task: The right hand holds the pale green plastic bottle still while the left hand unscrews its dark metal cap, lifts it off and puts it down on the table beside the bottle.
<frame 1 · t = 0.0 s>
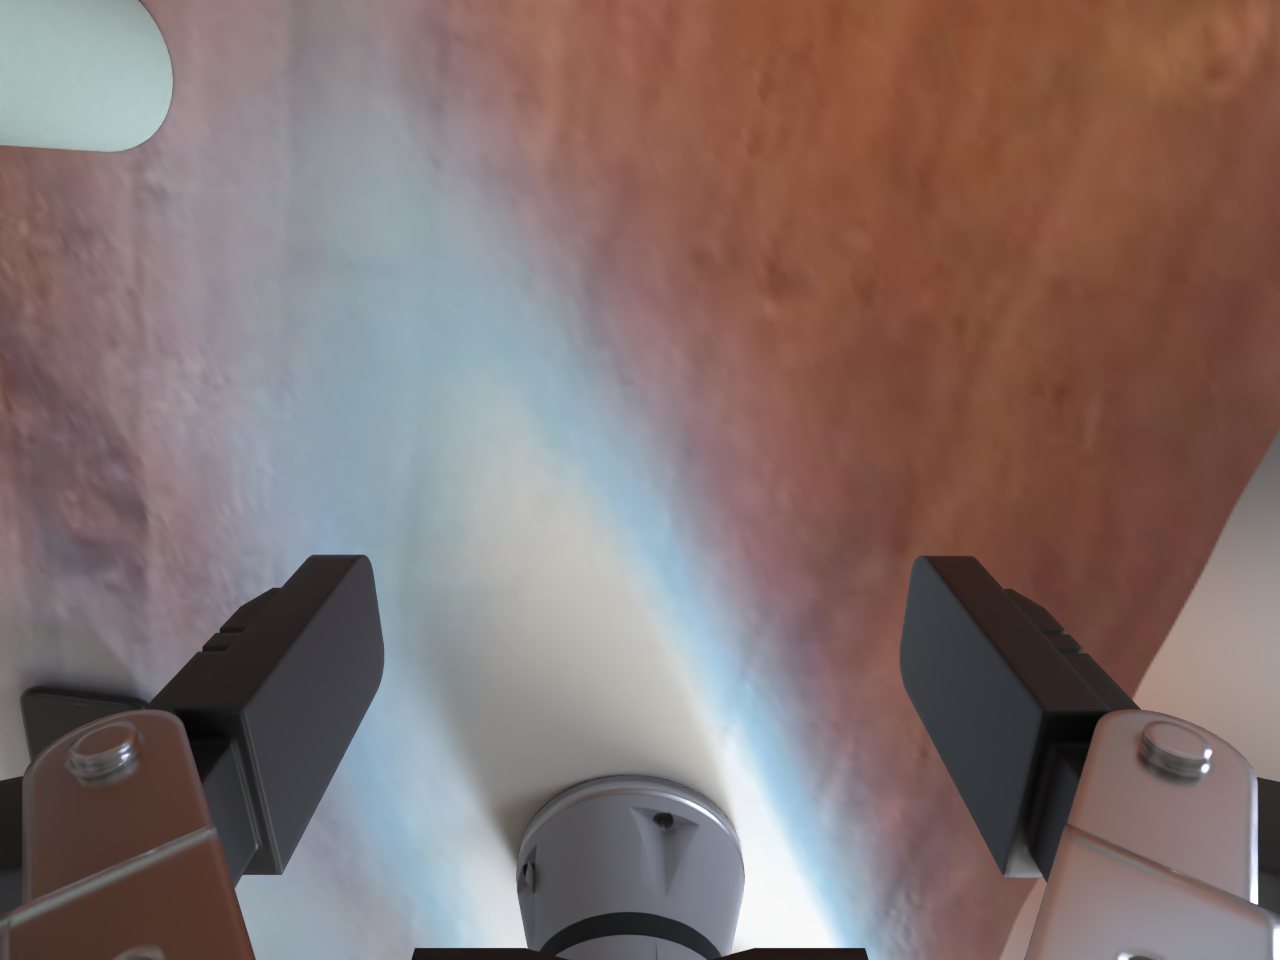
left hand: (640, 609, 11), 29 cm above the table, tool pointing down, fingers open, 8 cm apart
smartphone: (106, 786, 50), on the table
bottle: (89, 62, 35), on the table
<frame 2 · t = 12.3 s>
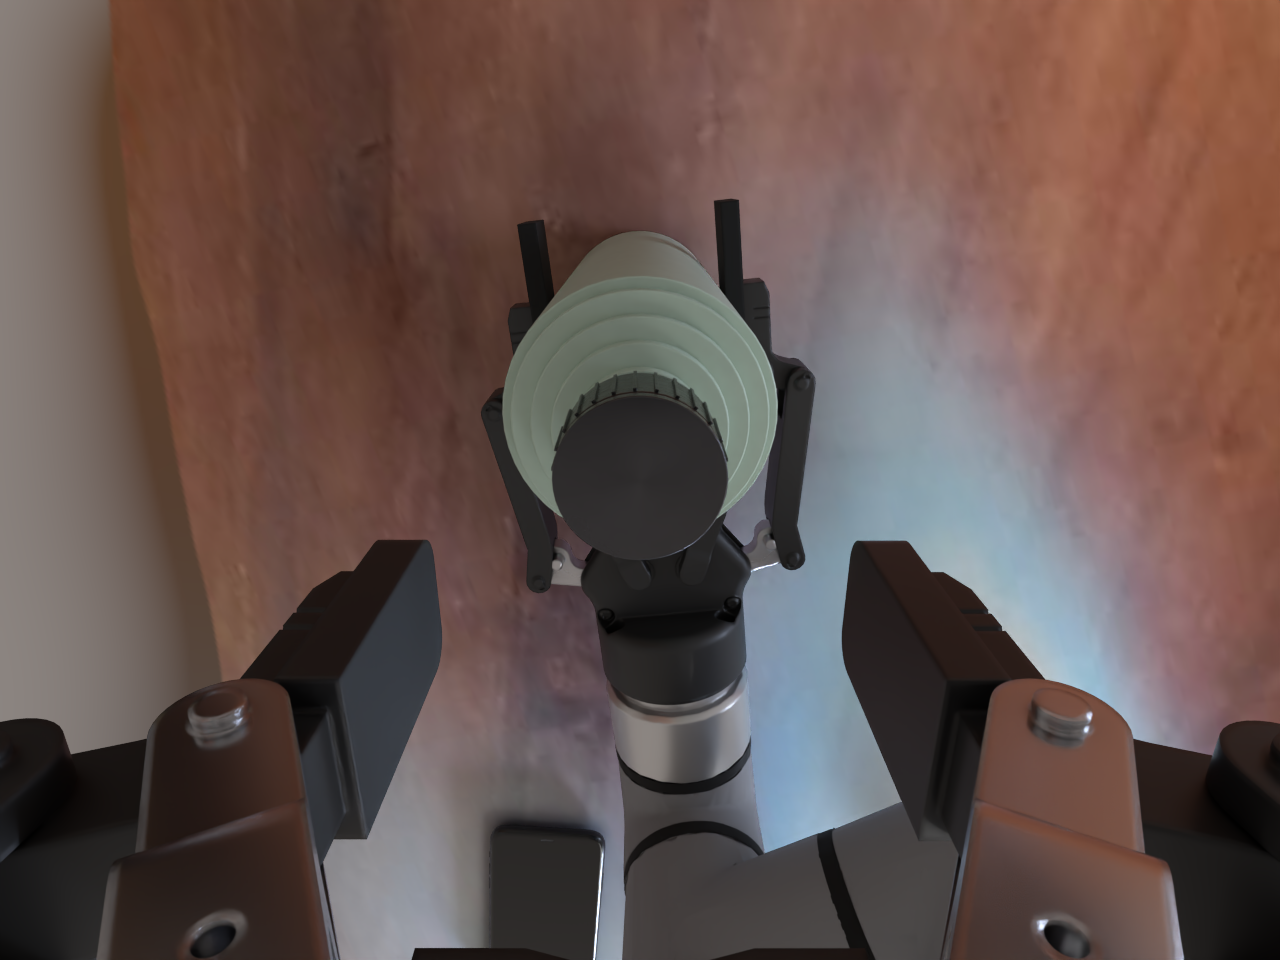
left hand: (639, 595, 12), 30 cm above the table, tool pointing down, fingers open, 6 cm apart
right hand: (627, 212, 32), fingers closed on bottle, 7 cm apart
smartphone: (545, 905, 55), on the table
bottle: (640, 306, 39), on the table, touching right hand
cap: (640, 476, 16), point 24 cm above the table, screwed on, not yet turned
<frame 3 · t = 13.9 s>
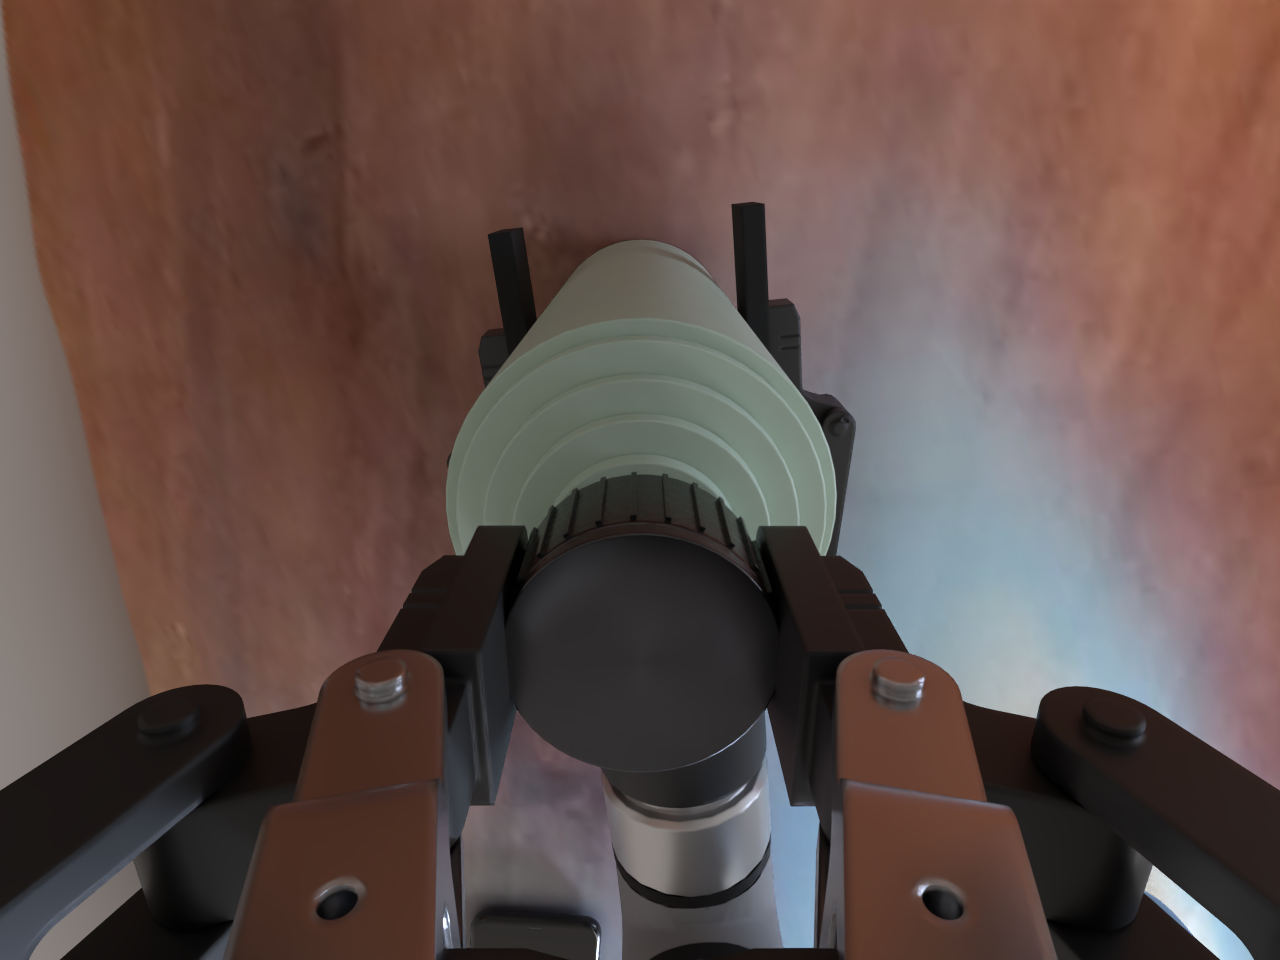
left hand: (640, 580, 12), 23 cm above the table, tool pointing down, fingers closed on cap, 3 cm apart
bottle: (640, 329, 33), on the table, touching right hand
cap: (641, 648, 10), point 24 cm above the table, screwed on, not yet turned, touching left hand
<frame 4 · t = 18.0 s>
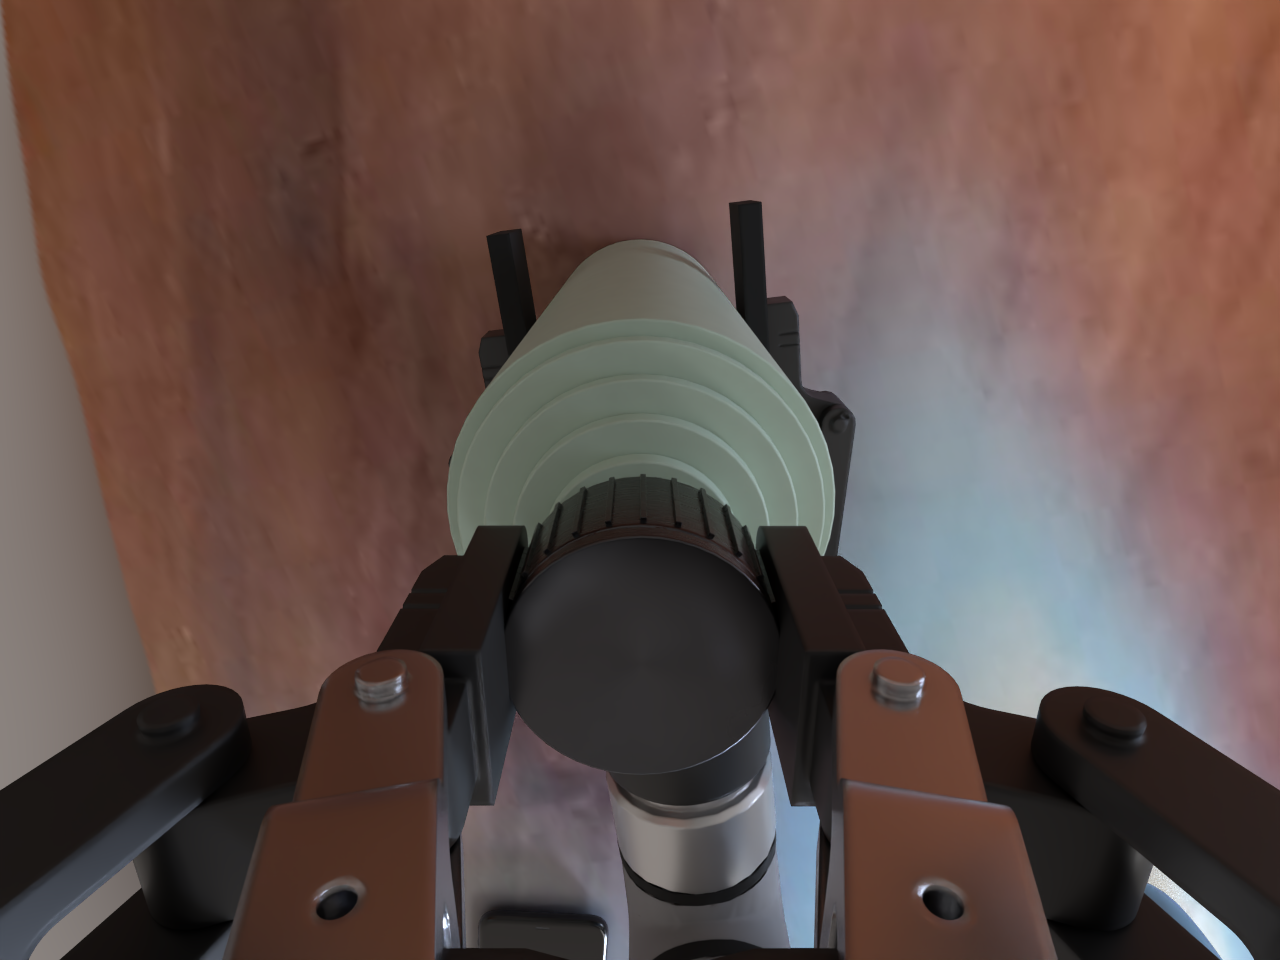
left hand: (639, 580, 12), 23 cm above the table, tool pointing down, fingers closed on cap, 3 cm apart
bottle: (640, 328, 33), on the table, touching right hand
cap: (641, 651, 10), point 25 cm above the table, turned 106° so far, risen 0.1 cm, still on its thread, touching left hand
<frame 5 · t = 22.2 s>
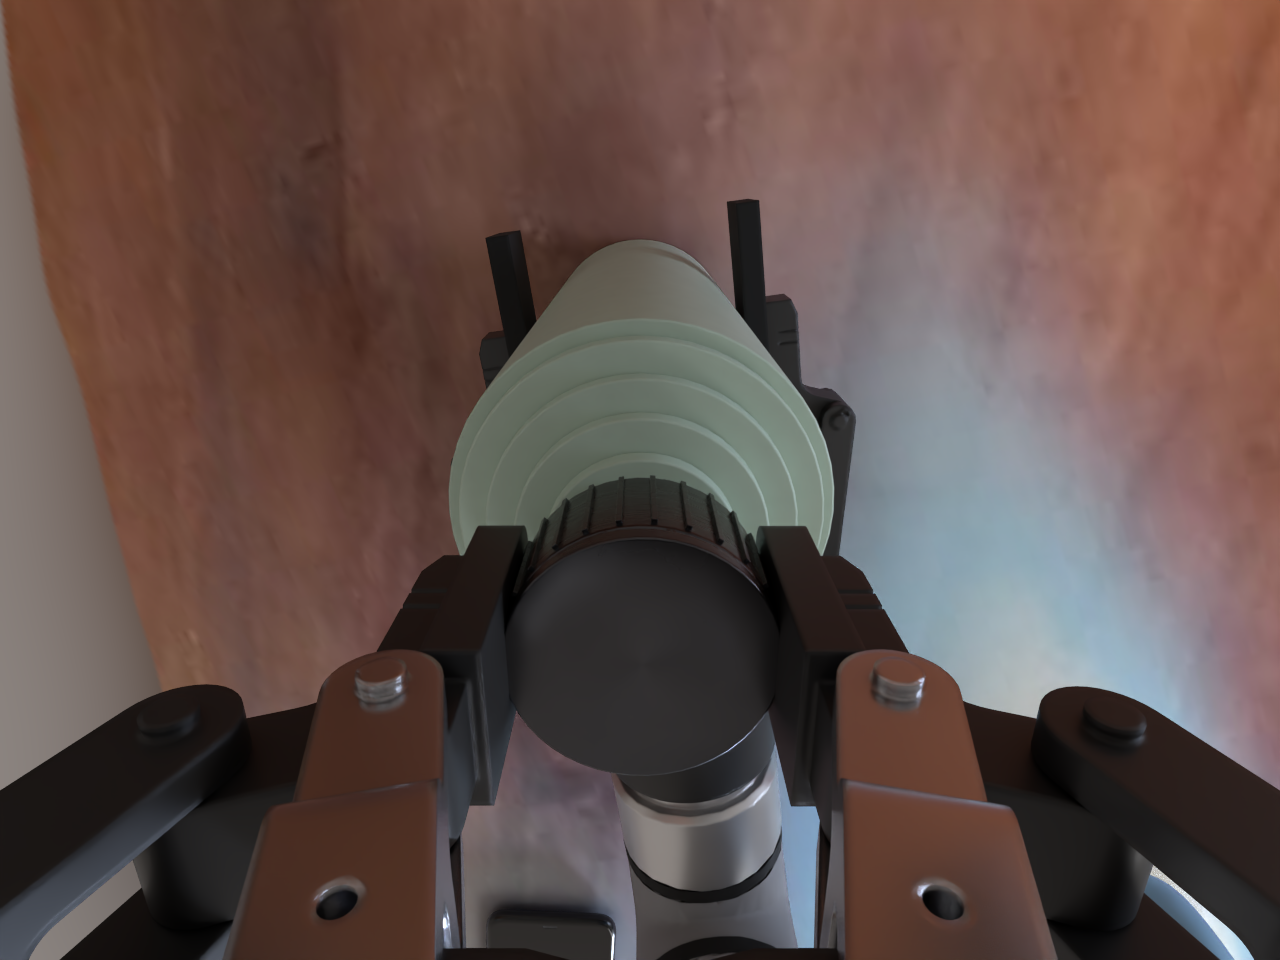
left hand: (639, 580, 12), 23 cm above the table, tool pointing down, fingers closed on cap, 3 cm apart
bottle: (640, 328, 33), on the table, touching right hand
cap: (642, 652, 10), point 25 cm above the table, turned 212° so far, risen 0.2 cm, still on its thread, touching left hand
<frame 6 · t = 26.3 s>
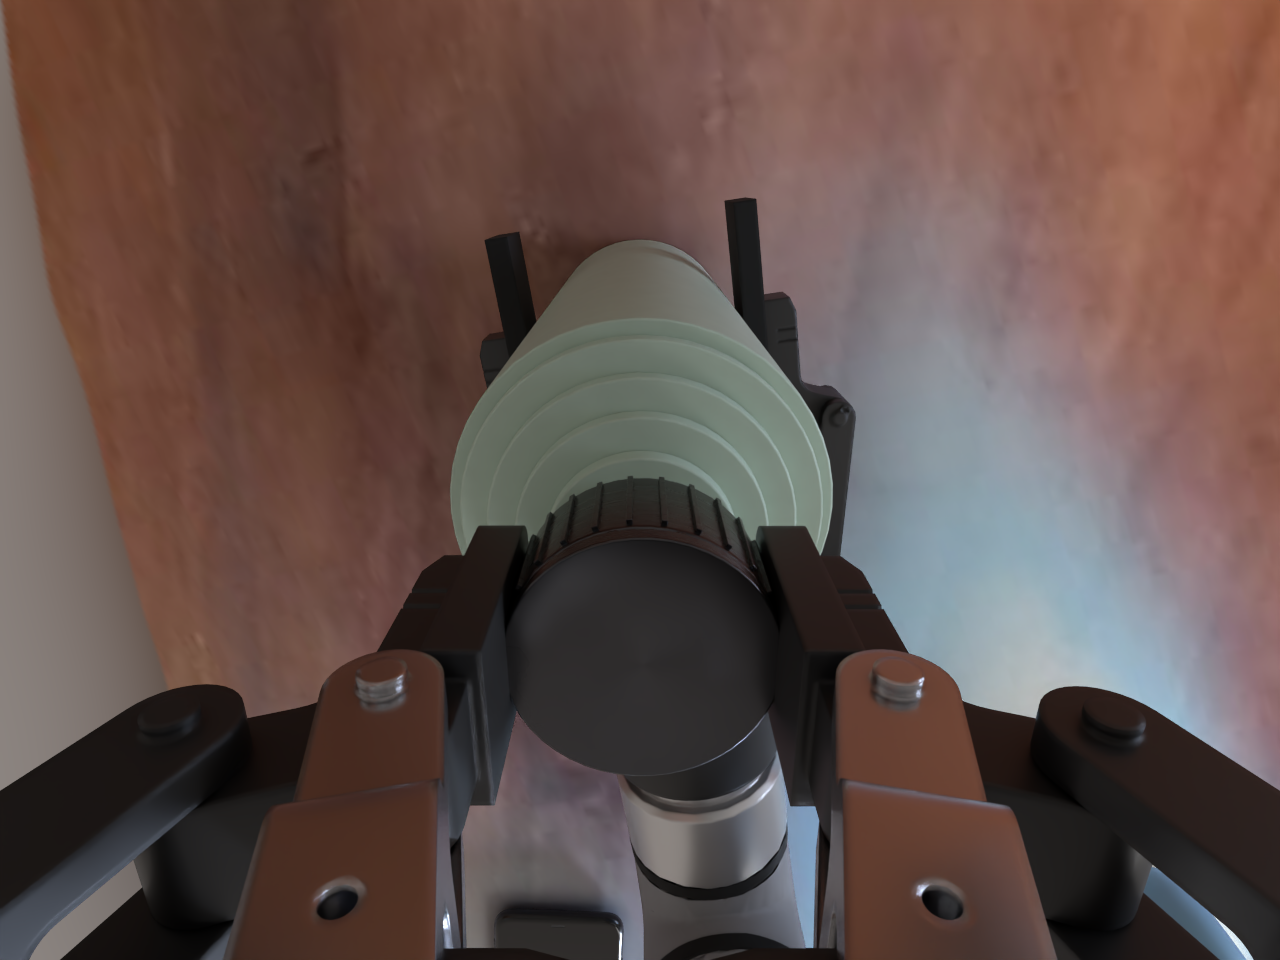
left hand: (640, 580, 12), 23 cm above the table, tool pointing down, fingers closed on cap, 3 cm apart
bottle: (640, 328, 33), on the table, touching right hand
cap: (642, 652, 10), point 25 cm above the table, turned 318° so far, risen 0.3 cm, still on its thread, touching left hand
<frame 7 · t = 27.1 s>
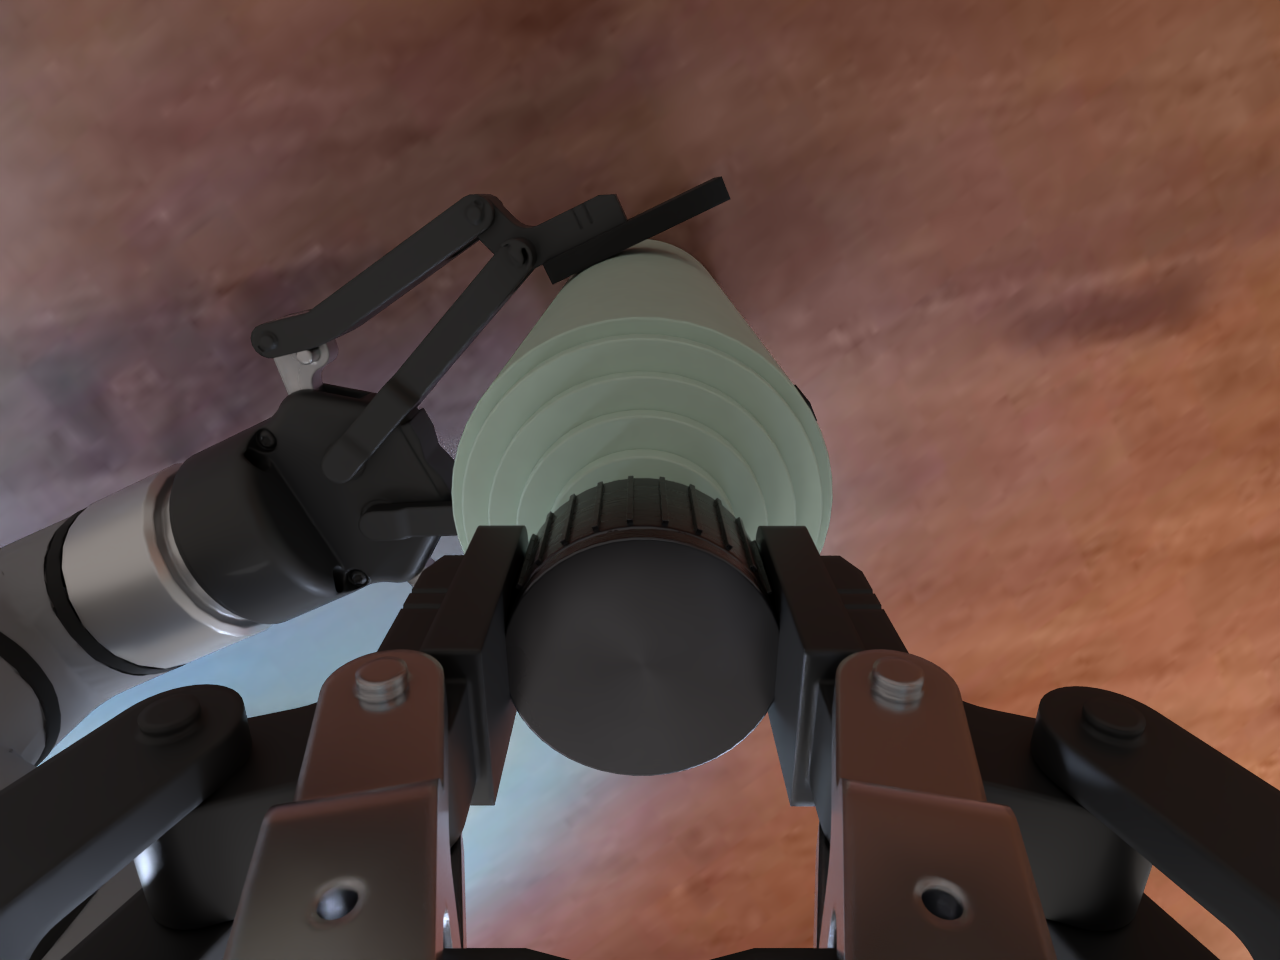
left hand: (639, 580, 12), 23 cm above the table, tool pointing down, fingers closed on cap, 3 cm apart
bottle: (641, 327, 34), on the table, touching right hand
cap: (642, 652, 10), point 25 cm above the table, turned 392° so far, risen 0.4 cm, still on its thread, touching left hand
when the left hand's fingers open (1 cm above the table, at t = 33.8 s): cap stays where it is, point 2 cm above the table.
when the right hand's fingers open (6 cm above the table, at t = 35.0 s): bottle stays where it is, on the table.
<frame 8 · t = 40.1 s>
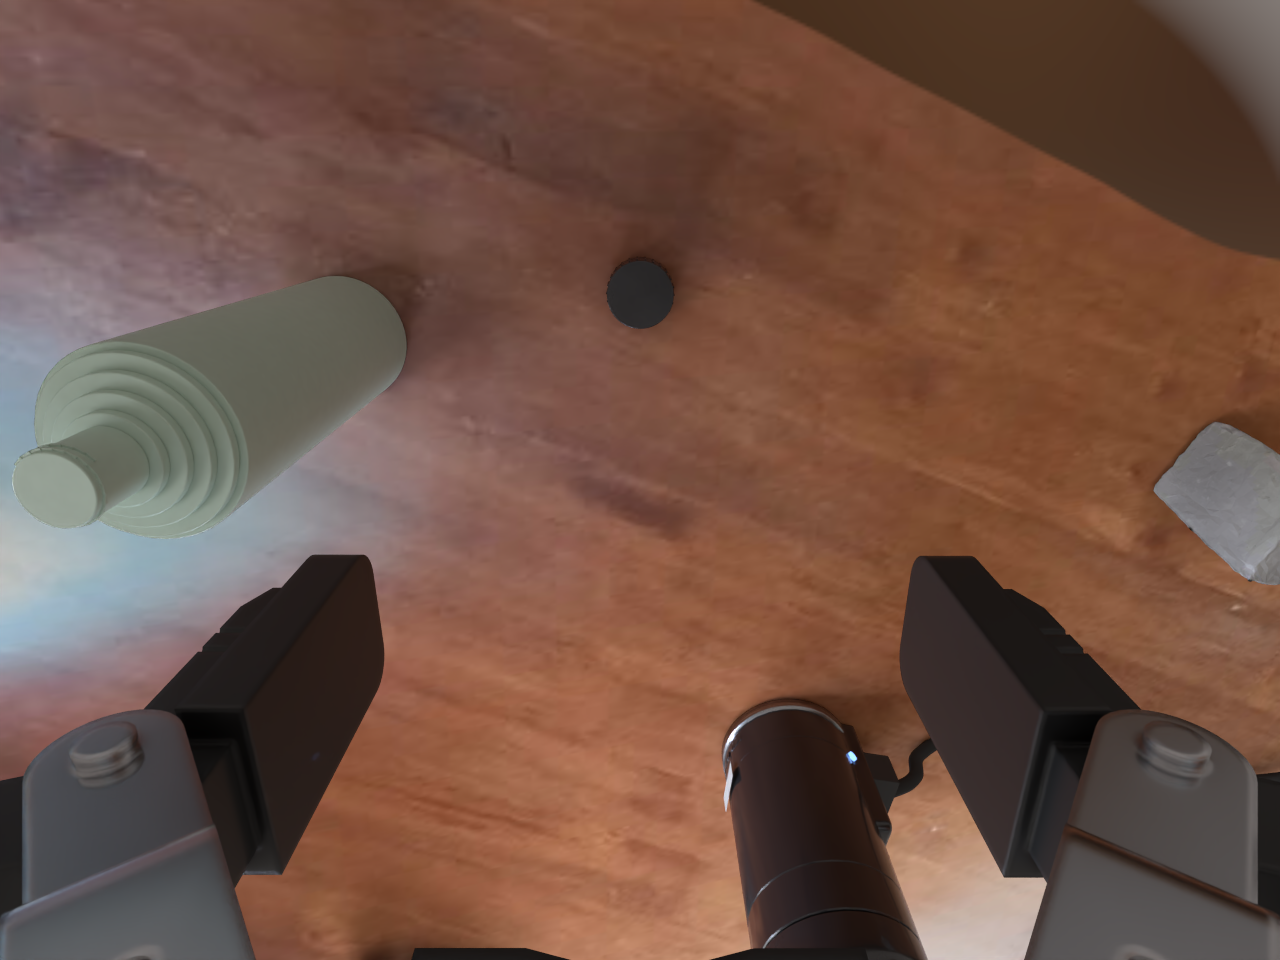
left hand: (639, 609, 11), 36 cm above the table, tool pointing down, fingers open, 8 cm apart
mineral specimen: (1211, 482, 49), on the table
bottle: (344, 339, 46), on the table
cap: (640, 294, 43), point 2 cm above the table, off its thread
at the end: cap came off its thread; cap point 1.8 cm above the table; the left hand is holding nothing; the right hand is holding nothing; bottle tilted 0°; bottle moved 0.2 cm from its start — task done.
